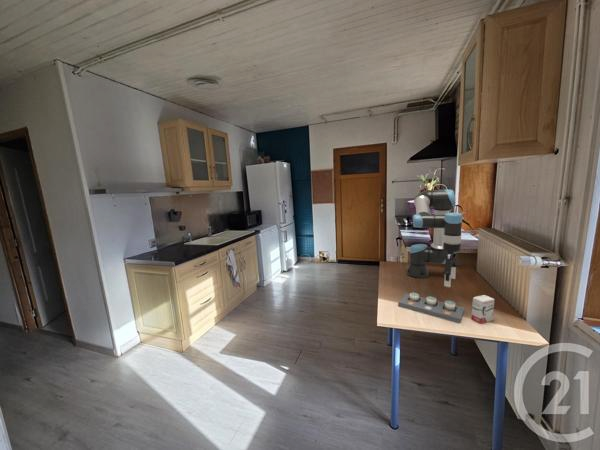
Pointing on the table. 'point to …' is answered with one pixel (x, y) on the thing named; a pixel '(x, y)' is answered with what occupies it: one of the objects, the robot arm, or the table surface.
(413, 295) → the button
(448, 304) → the button
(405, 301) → the board
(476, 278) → the table surface
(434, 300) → the button
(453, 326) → the table surface
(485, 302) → the ink box
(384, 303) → the table surface
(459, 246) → the robot arm
